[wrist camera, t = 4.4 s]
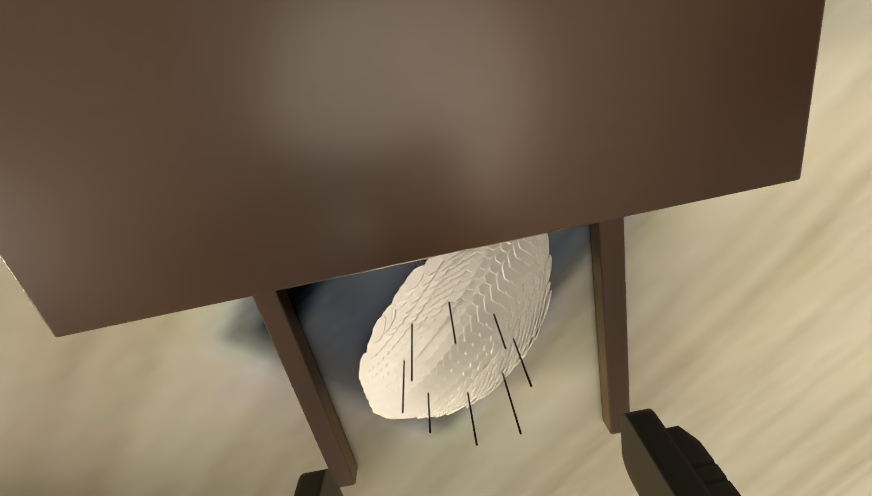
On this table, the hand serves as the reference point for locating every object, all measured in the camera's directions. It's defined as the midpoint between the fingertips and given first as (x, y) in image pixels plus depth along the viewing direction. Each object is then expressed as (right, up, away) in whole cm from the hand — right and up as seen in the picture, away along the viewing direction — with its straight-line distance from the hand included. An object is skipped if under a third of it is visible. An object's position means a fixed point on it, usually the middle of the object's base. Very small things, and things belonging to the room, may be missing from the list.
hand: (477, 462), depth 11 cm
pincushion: (-1, +3, +7) cm, 8 cm away
